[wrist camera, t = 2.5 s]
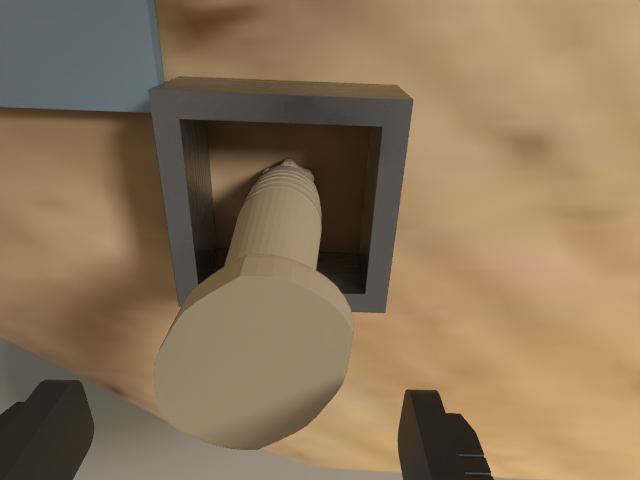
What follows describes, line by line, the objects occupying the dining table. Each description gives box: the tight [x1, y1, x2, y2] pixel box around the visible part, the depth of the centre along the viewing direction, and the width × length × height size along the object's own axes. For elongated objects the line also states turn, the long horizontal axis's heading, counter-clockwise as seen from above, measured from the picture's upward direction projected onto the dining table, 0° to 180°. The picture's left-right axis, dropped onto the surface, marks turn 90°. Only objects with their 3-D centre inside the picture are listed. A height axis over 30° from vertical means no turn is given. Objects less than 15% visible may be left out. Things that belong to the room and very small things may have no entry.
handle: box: [154, 159, 354, 450], centre depth 18 cm, size 5×6×15 cm
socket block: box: [148, 77, 413, 313], centre depth 23 cm, size 11×11×4 cm
